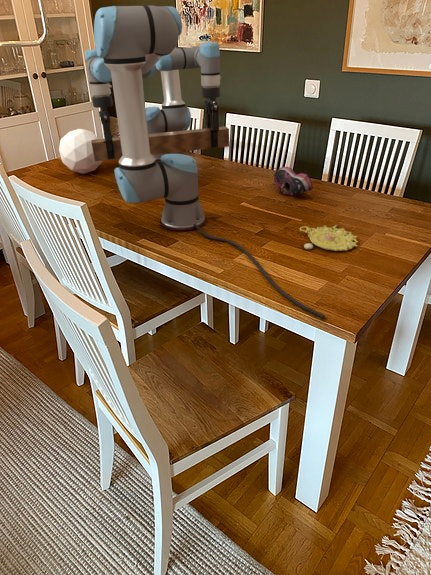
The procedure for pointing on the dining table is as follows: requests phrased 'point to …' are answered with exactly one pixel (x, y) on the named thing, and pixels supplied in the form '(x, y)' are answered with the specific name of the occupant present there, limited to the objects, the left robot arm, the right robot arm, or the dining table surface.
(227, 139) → the bar
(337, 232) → the decorative object
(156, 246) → the dining table surface
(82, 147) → the sphere
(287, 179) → the athletic shoe
